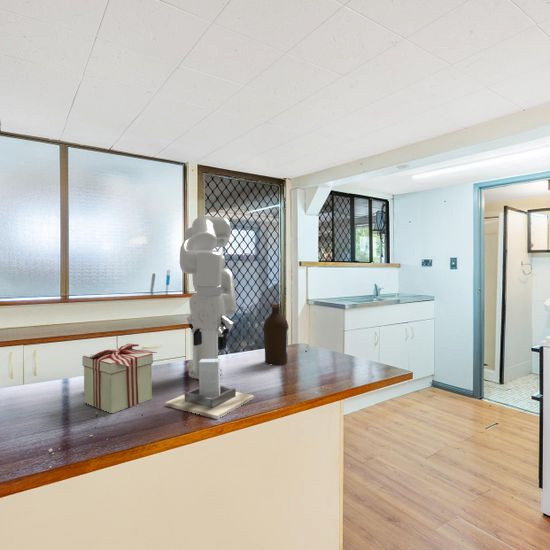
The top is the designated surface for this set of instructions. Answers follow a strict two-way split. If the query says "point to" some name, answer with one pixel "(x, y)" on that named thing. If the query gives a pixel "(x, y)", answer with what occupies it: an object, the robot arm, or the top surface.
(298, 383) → the top surface
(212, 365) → the skincare box
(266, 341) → the olive oil
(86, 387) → the gift box
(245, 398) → the holder board
